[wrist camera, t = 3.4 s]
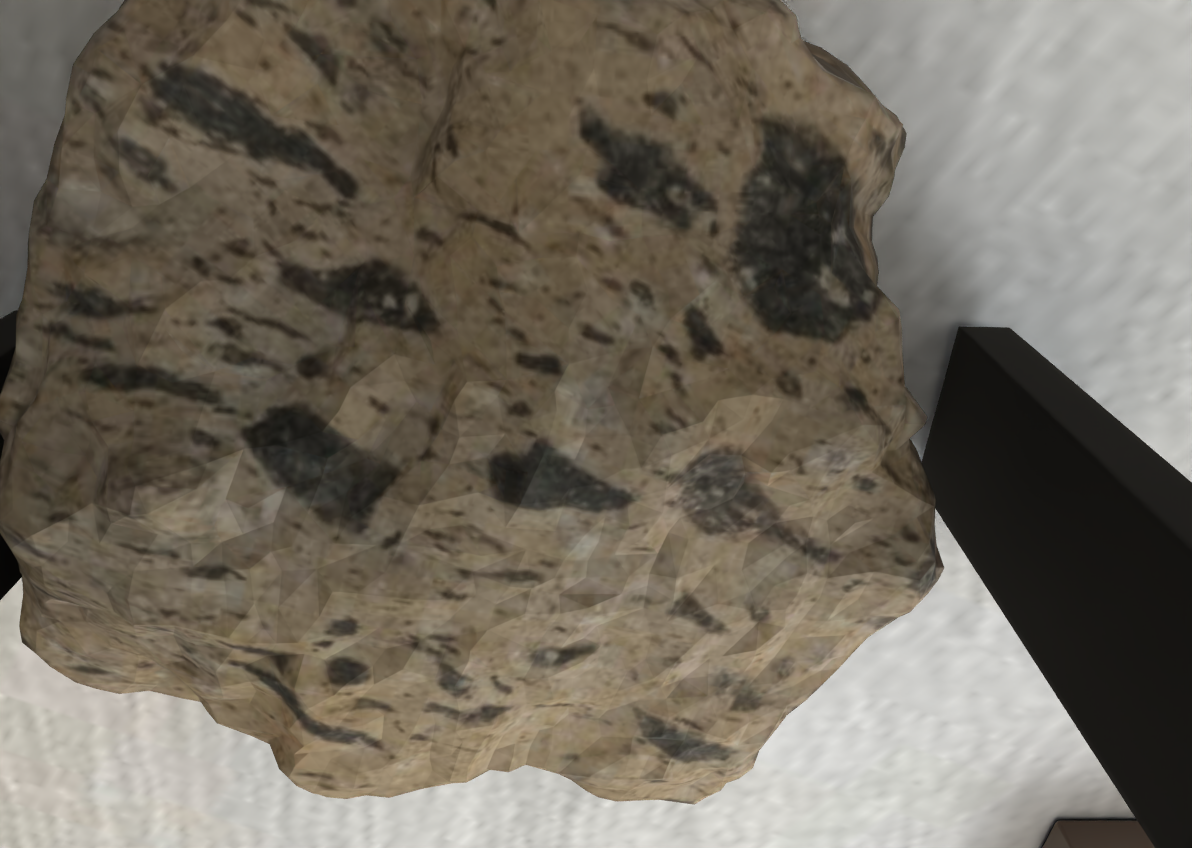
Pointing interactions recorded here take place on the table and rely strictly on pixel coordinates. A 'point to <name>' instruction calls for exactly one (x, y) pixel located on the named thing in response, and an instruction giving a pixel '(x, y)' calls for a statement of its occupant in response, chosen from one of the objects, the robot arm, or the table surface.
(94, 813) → the table surface
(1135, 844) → the grid board
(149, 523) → the rock
